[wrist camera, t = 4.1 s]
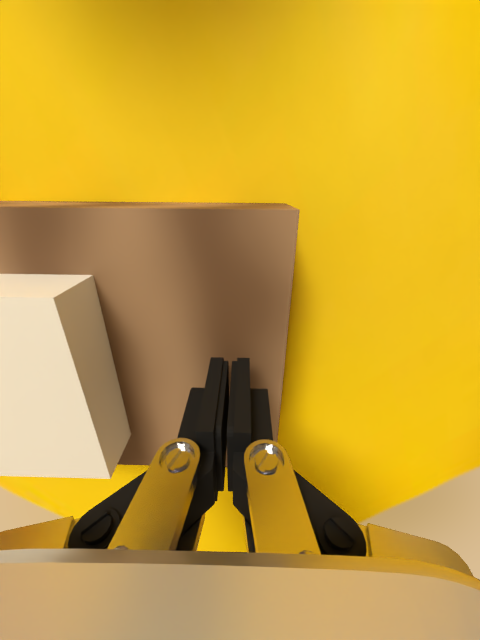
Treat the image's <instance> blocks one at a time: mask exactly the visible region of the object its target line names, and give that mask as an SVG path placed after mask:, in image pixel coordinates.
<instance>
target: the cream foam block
mask: <svg viewBox="0 0 480 640" xmlns="http://www.w3.org/2000/svg"><path fill="white" fill-rule="evenodd" d="M130 436H131V432H130V428H129V424H128V420H127V416H126V411H125V407H124V403H123V399H122V395H121V390H120V386H119V382H118V378H117V374H116V369H115V365H114V361H113V357H112V353H111V348H110V344H109V340H108V336H107V332H106V327H105V323H104V319H103V315H102V311H101V306H100V302H99V298H98V294H97V290H96V285H95V281H94V277H93V275H53V274H0V476H29V477H67V478H105V479H111V476H112V474H113V472H114V470H115V468H116V466H117V464H118V461H119V459H120V457H121V455H122V453H123V451H124V449H125V446H126V444H127V442H128V440H129V438H130Z"/></svg>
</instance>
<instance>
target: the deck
mask: <svg viewBox="0 0 480 640" xmlns="http://www.w3.org/2000/svg"><path fill="white" fill-rule="evenodd" d="M298 219H299V209H296V208H294V207H292V206H290V205H287V204H277V203H164V202H52V201H0V274H53V275H93V277H94V281H95V285H96V290H97V294H98V298H99V302H100V306H101V311H102V315H103V319H104V323H105V327H106V332H107V336H108V340H109V344H110V348H111V353H112V357H113V361H114V365H115V369H116V374H117V378H118V382H119V386H120V390H121V395H122V399H123V403H124V407H125V411H126V416H127V420H128V424H129V428H130V432H131V436H130V438H129V440H128V442H127V444H126V446H125V449H124V451H123V453H122V455H121V457H120V459H119V461H118V464H124V465H150V464H151V462H152V460H153V458H154V456H155V454H156V452H157V451H158V450H159V448H160V447H161V446H162V445H163V444H165V443H166V442H168V441H170V440H172V439H176V438H177V437H178V433H179V429H180V426H181V422H182V418H183V415H184V411H185V407H186V404H187V400H188V397H189V393H190V390H191V388H192V387H195V388H205V383H206V378H207V374H208V369H209V364H210V359H211V357H224V361H228V363H229V395H230V382H231V370H232V361H237V358H250V388H258V389H268V397H269V406H270V415H271V424H272V434H273V441H275V442H277V438H278V428H279V417H280V407H281V396H282V386H283V375H284V365H285V355H286V344H287V334H288V323H289V313H290V303H291V292H292V282H293V271H294V261H295V251H296V240H297V230H298ZM225 467H227V451H226V465H225Z"/></svg>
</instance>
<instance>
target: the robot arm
mask: <svg viewBox="0 0 480 640" xmlns="http://www.w3.org/2000/svg"><path fill="white" fill-rule="evenodd" d="M226 451H227V468H228V491H233V505H234V506H235V507H236V508H237V509H238V510H239V511H240V513H241V514H242V515H243V523H244V531H245V539H246V546H247V552H209V551H196V550H197V546H198V543H199V539H200V535H201V531H202V527H203V524H204V520H205V512H206V511H207V510H208V509H210V508H211V507H212V506H213V505H214V503H215V501H217V496H218V491H223V490H224V478H225V465H226ZM0 640H480V580H479V579H477V578H475V577H474V576H473V575H472V573H471V571H470V569H469V567H468V566H467V564H466V563H465V562H464V561H463V560H462V559H461V557H460V556H459V555H458V554H457V553H456V552H454V551H453V550H452V549H450V548H449V547H447V546H446V545H443V544H441V543H439V542H436V541H433V540H428V539H425V538H421V537H418V536H414V535H410V534H407V533H403V532H399V531H395V530H392V529H388V528H384V527H380V526H377V525H373V524H370V523H368V524H367V526H364V525H360V524H357V523H356V522H355V521H354V520H353V519H352V518H351V517H350V516H349V515H348V514H347V513H345V512H344V511H343V510H342V509H341V508H339V507H338V506H337V505H336V504H335V503H333V502H332V501H331V500H330V499H328V498H327V497H326V496H325V495H324V494H322V493H321V492H320V491H319V490H318V489H316V488H315V487H314V486H313V485H311V484H310V483H309V482H308V481H307V480H305V479H304V478H303V477H302V476H301V475H299V474H298V473H297V472H296V471H294V470H293V467H292V464H291V461H290V458H289V455H288V453H287V451H286V450H285V449H284V448H283V447H282V445H280V444H279V443H277V442H275V441H273V434H272V424H271V415H270V406H269V397H268V389H258V388H250V358H237V361H232V370H231V382H230V395H229V363H228V361H224V357H211V359H210V364H209V369H208V374H207V378H206V383H205V388H195V387H192V388H191V390H190V393H189V397H188V400H187V404H186V407H185V411H184V415H183V418H182V422H181V426H180V429H179V433H178V437H177V438H176V439H172V440H170V441H168V442H166V443H165V444H163V445H162V446H161V447H160V448H159V450H158V451H157V452H156V454H155V456H154V458H153V460H152V462H151V464H150V466H149V468H148V470H147V471H145V472H144V473H143V474H141V475H140V476H138V477H137V478H135V479H134V480H132V481H131V482H130V483H128V484H127V485H125V486H124V487H122V488H121V489H119V490H118V491H117V492H115V493H114V494H112V495H111V496H109V497H108V498H106V499H105V500H104V501H102V502H101V503H99V504H98V505H96V506H95V507H93V508H92V509H91V510H89V511H88V512H87V513H86V514H84V515H83V516H82V517H81V518H78V519H74V518H73V516H70V517H66V518H61V519H57V520H52V521H47V522H43V523H39V524H34V525H29V526H25V527H20V528H16V529H11V530H6V531H3V532H0Z"/></svg>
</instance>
